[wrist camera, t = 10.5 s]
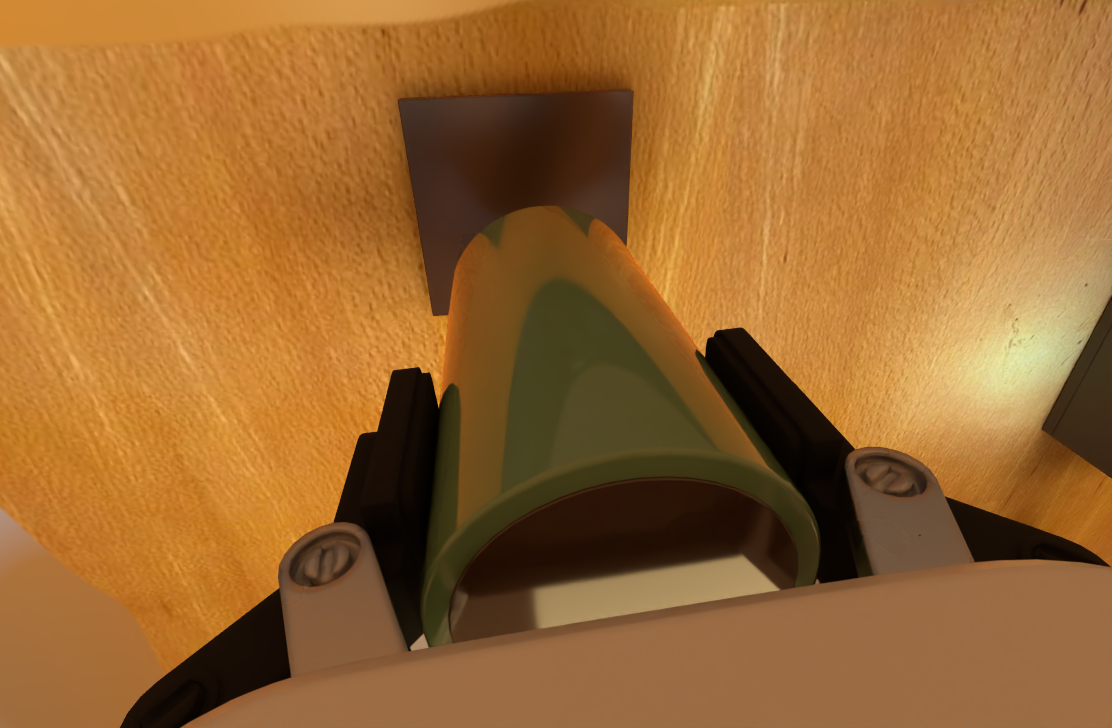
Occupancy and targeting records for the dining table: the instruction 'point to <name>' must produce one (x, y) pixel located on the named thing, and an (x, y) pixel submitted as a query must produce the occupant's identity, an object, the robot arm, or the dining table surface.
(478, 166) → the plate
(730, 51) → the dining table surface
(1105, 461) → the chest
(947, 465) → the dining table surface
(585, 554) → the green pot
